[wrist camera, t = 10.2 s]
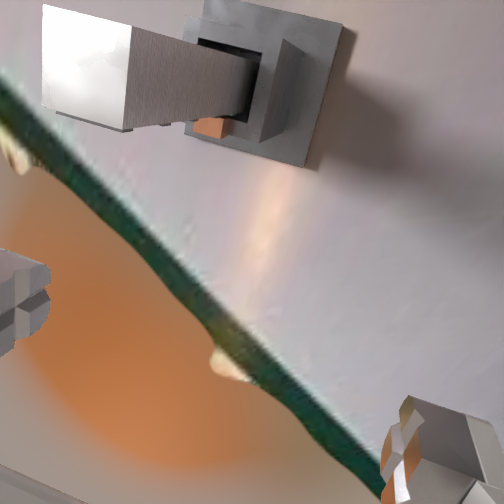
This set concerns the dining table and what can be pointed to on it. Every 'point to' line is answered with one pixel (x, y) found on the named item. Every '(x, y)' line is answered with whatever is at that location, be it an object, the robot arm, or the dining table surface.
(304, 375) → the dining table surface
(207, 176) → the dining table surface
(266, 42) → the stand
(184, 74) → the column
